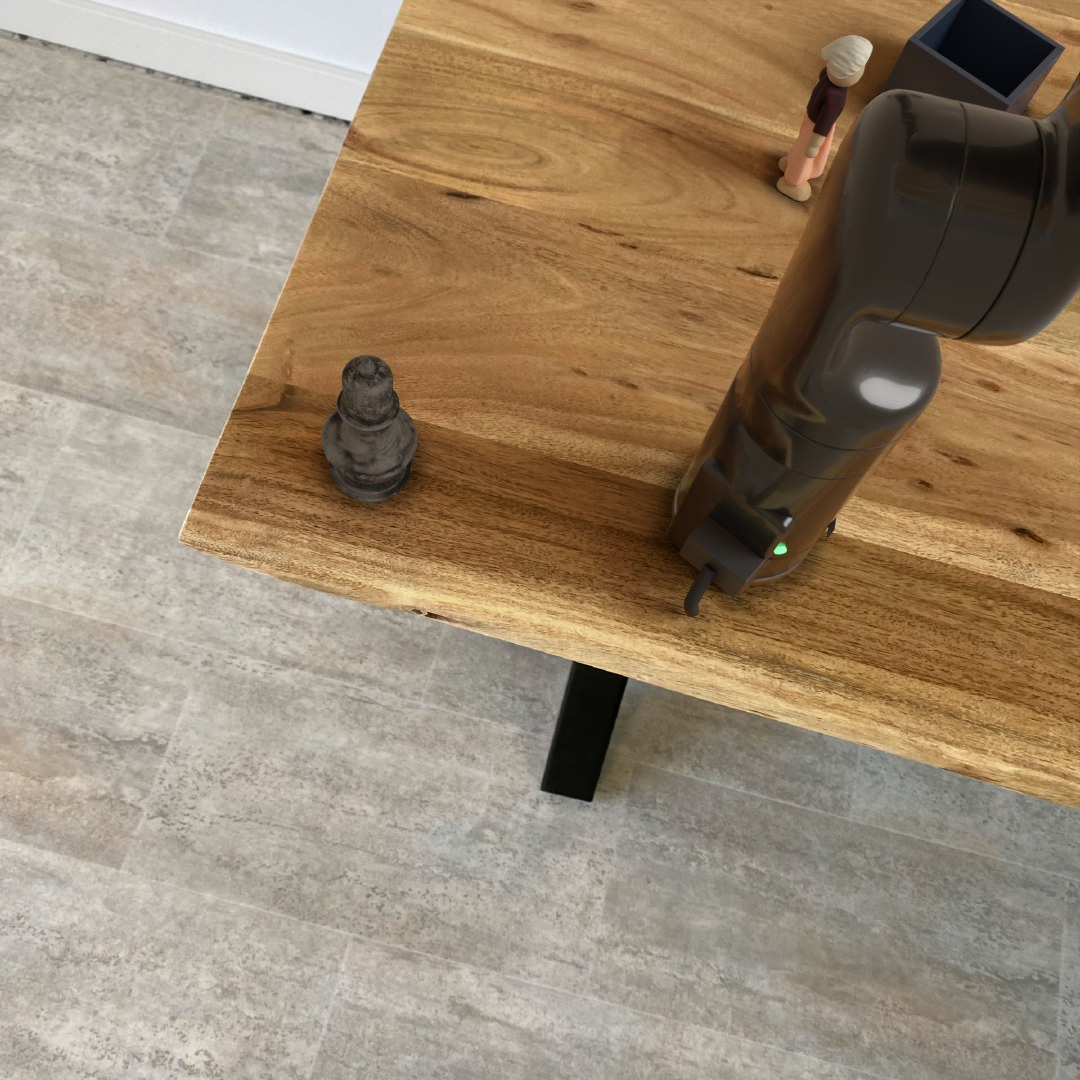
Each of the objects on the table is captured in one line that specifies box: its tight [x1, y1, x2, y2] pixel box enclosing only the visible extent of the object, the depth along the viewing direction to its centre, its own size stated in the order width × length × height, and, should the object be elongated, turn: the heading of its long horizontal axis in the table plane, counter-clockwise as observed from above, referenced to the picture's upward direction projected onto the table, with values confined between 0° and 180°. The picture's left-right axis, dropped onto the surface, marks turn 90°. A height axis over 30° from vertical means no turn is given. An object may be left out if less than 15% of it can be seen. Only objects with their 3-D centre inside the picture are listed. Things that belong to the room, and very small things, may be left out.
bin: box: [880, 0, 1066, 115], centre depth 88 cm, size 9×9×7 cm
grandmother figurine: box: [776, 34, 874, 202], centre depth 79 cm, size 8×4×13 cm, turn 179°
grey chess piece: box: [320, 354, 419, 503], centre depth 64 cm, size 6×6×12 cm
